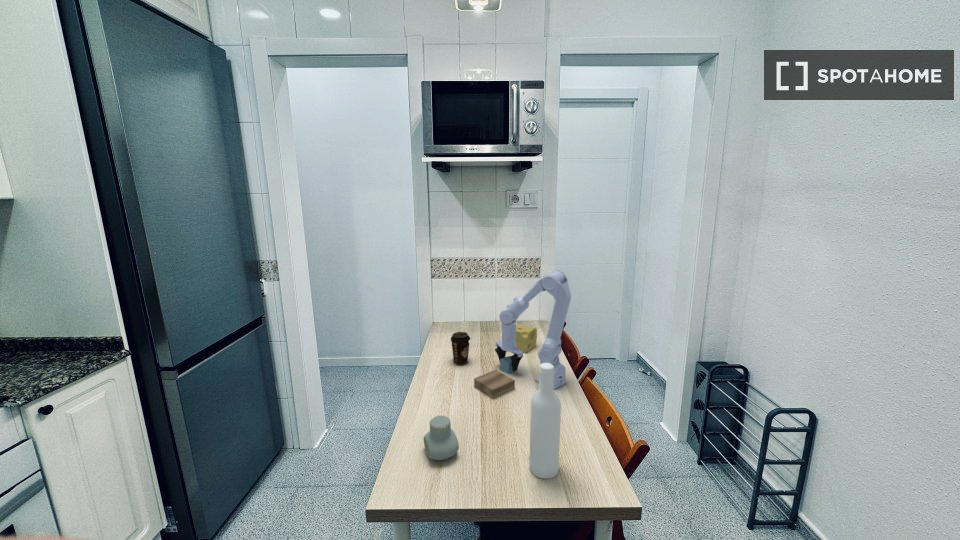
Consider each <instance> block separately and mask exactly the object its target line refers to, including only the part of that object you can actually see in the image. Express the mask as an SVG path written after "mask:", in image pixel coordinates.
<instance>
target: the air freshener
mask: <svg viewBox="0 0 960 540" xmlns="http://www.w3.org/2000/svg"><path fill="white" fill-rule="evenodd" d="M451 423H452V422H451V419H450V418H449V417H447V416H446V415H436V416H434V417H433V418H431V420H430V421H429V431H428V432H426V433H425V435H424V436H423V445H424V448H425V452H426V455H427V457H428V458H430V459H432V460H435V461H442V460H447V459H450V458H451V457H453V456H454V455H455V454H456V453H457V452H458V450H459V448H460V447H459V441H458V437H457V434H456V433H455V431H454V430H453V429H452V428H451V427H452V426H451V425H452V424H451Z"/></svg>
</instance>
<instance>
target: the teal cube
mask: <svg viewBox="0 0 960 540" xmlns="http://www.w3.org/2000/svg"><path fill="white" fill-rule="evenodd" d="M510 356H511V355H507V356H505V358H502V359H500V361H499V367H500V368H499V369H500V372H501V371H502V373H505V374H507V375H510V374H512V373H515V372H517V371H518V369H517V370H516V371H513V370H512V361H511V358H510Z"/></svg>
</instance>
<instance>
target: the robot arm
mask: <svg viewBox="0 0 960 540" xmlns="http://www.w3.org/2000/svg"><path fill="white" fill-rule="evenodd" d="M545 291H546V292H547V293H549V294H550V295H551V296H552V298H554V299H555V302H554V307H553V310H552V314H551V319H550V323H549V326H548V330H547V334H546V337H545V339H544V342H543V343H542V347H541V348H540V349H539V351H538V352H537V356H538V359H539V361H540V362H539V363H540V364H542V363H550V364H552V365H553V366H554V382H553V390H557V389H558V388H560V387H562V386H563V385H566V384H567V381H566V367H565V366H564V364H562V363H561V362H560V356H559V355H560V354H561V353H562V339H561V336H562V334H563V329H564V326H565V322H566V319H567V314H568V311H569V309H570V303H571V300H572V293H571V291H570V287H569V279H568V277H567V276H566V275H565V273H564V272H563V271H561V270H558V269H556V270H553V271H552V272H550V273H548V274H545V275H544V276H543V277H542V278H540V279H539V280H538V281H536V282H535V284H533V285H532V286H531V287H530V289H528V290H527V291H526V292H525V294H524V295H521V296H520V295H519V296H516V297H514V298H513V301H512V302H511V303H510V304H508V305H507V306H506V308H505V309H503V310H501V312H500V314H499V317H498V318H499V321H500V322H501V341H500V340H497V341H495V347H496V348H494V351H495V353H496V356H497V357H498V360H499V362H500V359H502V358H505V357H507V356H506V355H507V353H511V354H512V355H509V356H510V358H511V361H512V370H513V371H515V372H517V371H518V368H519V365H520V362H521V360H522V358H523V357H524V353H523V352H522V351H521V350H519V349H518V348H517V345H516V325H517V320H518V319H519V317H520V316H521V315H522V314H523V313H524V312H525V311H526V310H527V309H528V308H529V306H530V302H531V301H532V300H533V299H534V298H535V297H536V296H537V295H538V294H540V293H541V292H545ZM540 364H539V365H540ZM516 370H517V371H516ZM534 380H535V381H536V382H537V383H539V377H536V378H535V379H534Z"/></svg>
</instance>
